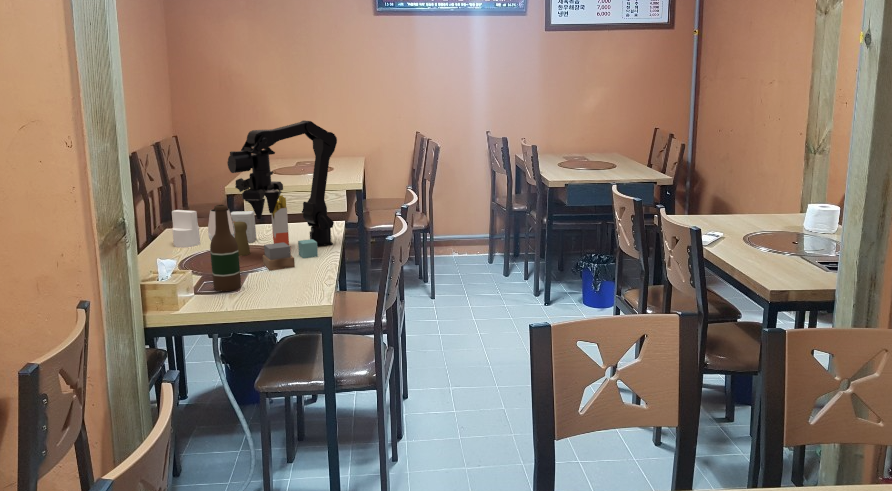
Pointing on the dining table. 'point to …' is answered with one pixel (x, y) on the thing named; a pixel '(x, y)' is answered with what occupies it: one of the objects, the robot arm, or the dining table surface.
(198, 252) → the dining table surface
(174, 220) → the white stepped block
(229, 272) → the beer bottle
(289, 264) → the walnut slab
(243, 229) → the cork
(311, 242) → the teal cube
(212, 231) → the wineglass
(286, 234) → the french fries container
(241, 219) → the small box
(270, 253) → the charcoal block
